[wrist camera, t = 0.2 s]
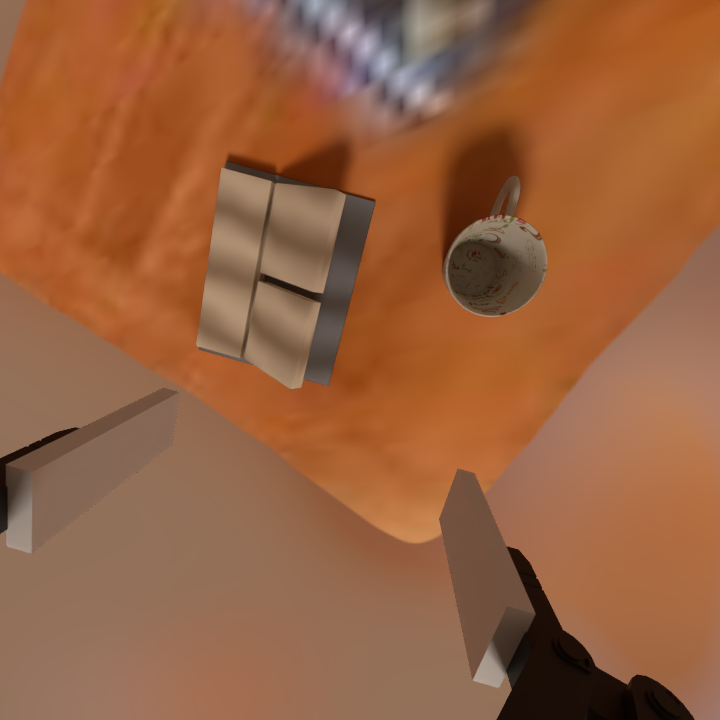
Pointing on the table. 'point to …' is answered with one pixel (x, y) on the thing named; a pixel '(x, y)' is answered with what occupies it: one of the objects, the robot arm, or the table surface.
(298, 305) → the plank
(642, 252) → the table surface
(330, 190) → the plank
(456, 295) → the mug
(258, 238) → the laid row
